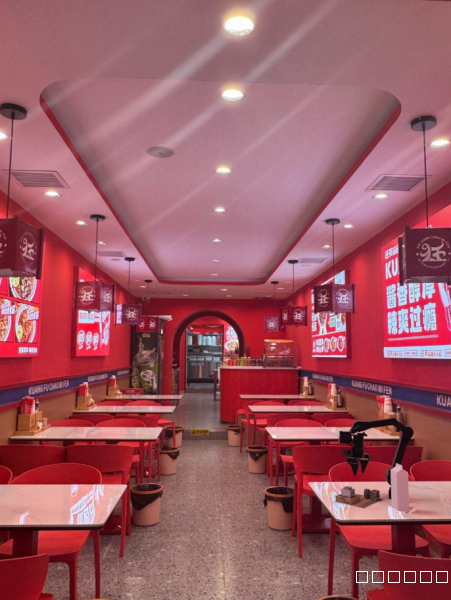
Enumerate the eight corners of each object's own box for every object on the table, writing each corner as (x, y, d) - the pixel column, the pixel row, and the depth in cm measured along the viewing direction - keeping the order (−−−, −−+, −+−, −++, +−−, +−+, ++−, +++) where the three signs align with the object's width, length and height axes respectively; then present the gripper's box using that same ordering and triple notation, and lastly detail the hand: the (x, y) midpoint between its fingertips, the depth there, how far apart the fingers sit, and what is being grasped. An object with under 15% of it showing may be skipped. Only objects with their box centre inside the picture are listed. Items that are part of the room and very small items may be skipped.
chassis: (382, 501, 245) (382, 490, 246) (364, 510, 229) (364, 498, 230) (354, 495, 256) (354, 484, 256) (334, 504, 239) (334, 492, 240)
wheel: (376, 498, 246) (376, 489, 246) (373, 500, 242) (373, 491, 243) (366, 496, 249) (366, 487, 250) (362, 497, 246) (362, 489, 247)
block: (354, 501, 241) (354, 487, 242) (350, 503, 237) (350, 488, 238) (346, 499, 244) (345, 485, 245) (341, 500, 241) (341, 487, 242)
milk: (402, 509, 233) (401, 463, 236) (409, 513, 227) (408, 465, 230) (391, 509, 232) (390, 463, 235) (397, 513, 226) (396, 465, 229)
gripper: (352, 440, 268) (353, 469, 265) (336, 444, 254) (336, 474, 252) (371, 443, 260) (371, 472, 258) (356, 447, 246) (356, 478, 244)
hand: (359, 474), depth 253 cm, fingers open, 9 cm apart
